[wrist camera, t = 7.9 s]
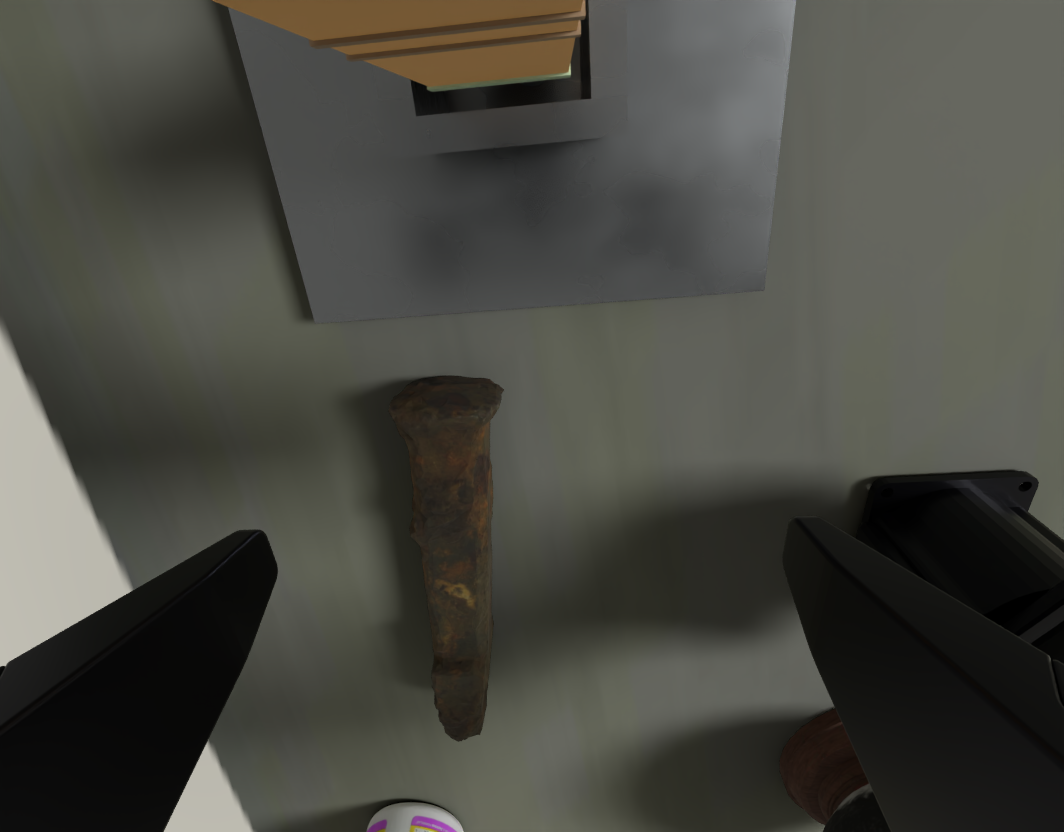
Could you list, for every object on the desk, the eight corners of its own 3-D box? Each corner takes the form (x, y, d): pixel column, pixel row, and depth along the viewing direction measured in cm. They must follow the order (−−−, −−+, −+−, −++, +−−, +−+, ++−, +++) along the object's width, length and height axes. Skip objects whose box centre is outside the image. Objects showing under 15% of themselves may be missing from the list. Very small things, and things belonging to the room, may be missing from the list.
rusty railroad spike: (407, 363, 22) (372, 416, 18) (505, 370, 22) (493, 424, 18) (426, 673, 31) (405, 756, 27) (496, 679, 31) (486, 763, 27)
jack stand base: (822, -412, 13) (1019, -818, 7) (752, 282, 20) (825, 336, 14) (164, -304, 14) (-85, -586, 8) (327, 314, 21) (249, 374, 16)
